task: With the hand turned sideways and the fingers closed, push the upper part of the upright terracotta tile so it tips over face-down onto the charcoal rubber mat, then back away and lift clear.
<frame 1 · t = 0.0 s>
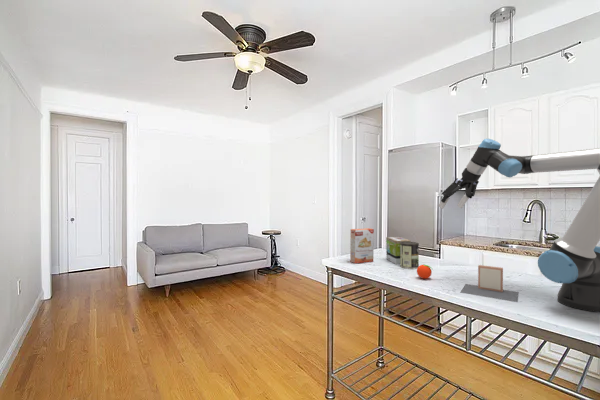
hand: (450, 206, 152), 36 cm above the table, tool tilted 35°, fingers open, 13 cm apart
cracker box: (362, 262, 189), on the table
tea box: (398, 262, 189), on the table
clementine: (425, 279, 151), on the table
tile: (490, 289, 132), resting on mat
mat: (489, 293, 128), on the table
coffee can: (409, 267, 175), on the table
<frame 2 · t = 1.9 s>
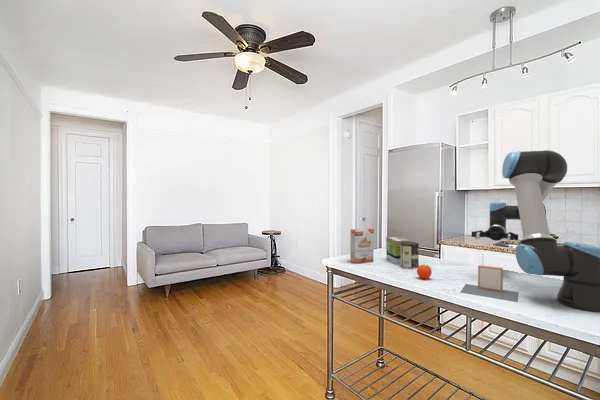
hand: (492, 237, 139), 22 cm above the table, tool horizontal, fingers open, 12 cm apart
nothing on the table moved.
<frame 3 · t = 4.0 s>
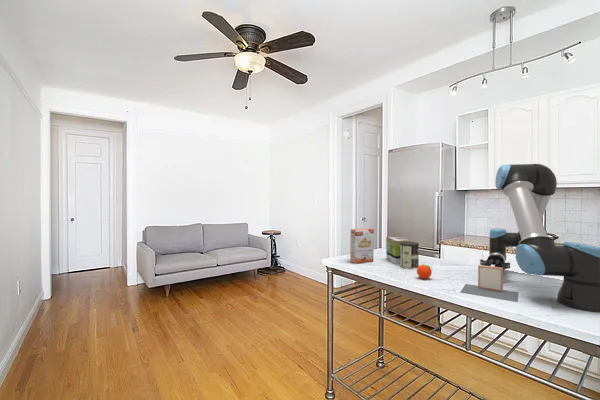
hand: (491, 270, 137), 8 cm above the table, tool horizontal, fingers closed
nothing on the table moved.
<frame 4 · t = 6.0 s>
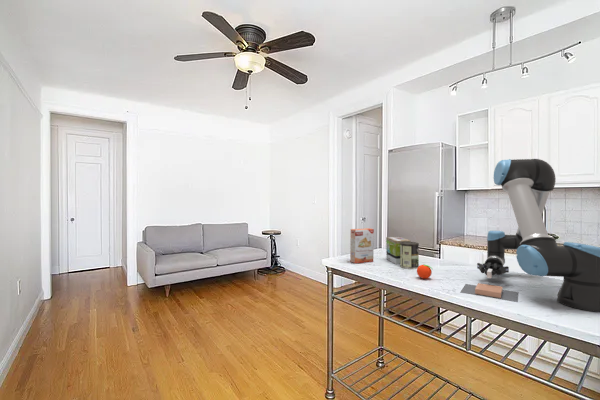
hand: (489, 274, 130), 7 cm above the table, tool horizontal, fingers closed
tile: (490, 287, 131), point 2 cm above the table, tilted 90°, touching mat
everything else where it was.
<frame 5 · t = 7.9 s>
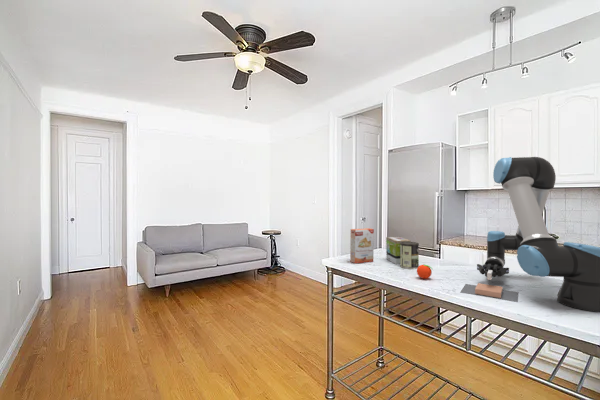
hand: (489, 276, 127), 8 cm above the table, tool horizontal, fingers closed
nothing on the table moved.
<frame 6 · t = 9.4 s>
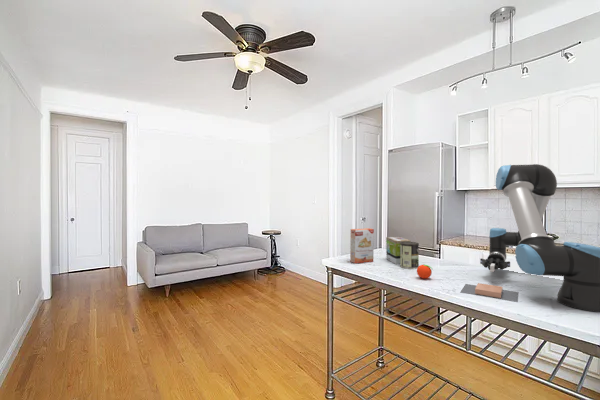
hand: (491, 269, 137), 8 cm above the table, tool horizontal, fingers closed
nothing on the table moved.
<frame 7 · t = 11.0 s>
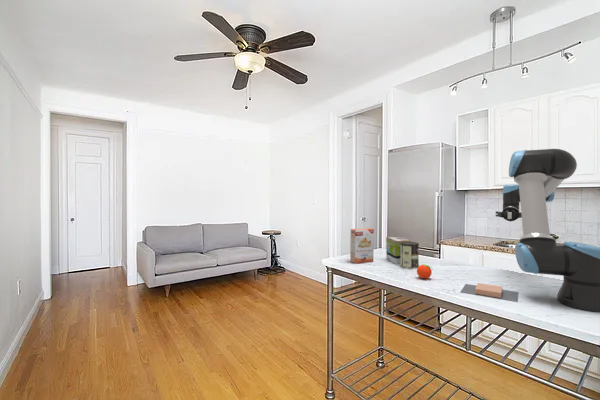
hand: (509, 215, 140), 32 cm above the table, tool horizontal, fingers closed
nothing on the table moved.
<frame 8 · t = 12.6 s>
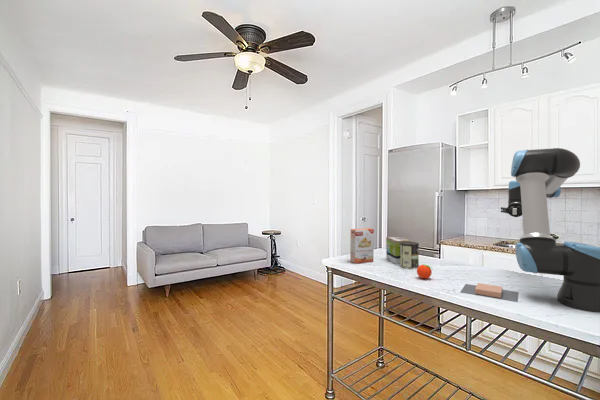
hand: (514, 211, 140), 34 cm above the table, tool horizontal, fingers closed
nothing on the table moved.
at the end: tile tilted 90°; tile touching mat; tile inside the target area (0.3 cm from its centre), point 1.8 cm above the table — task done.
